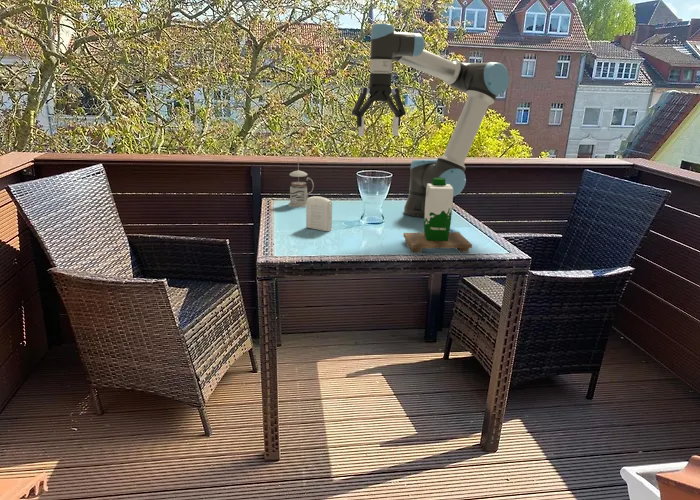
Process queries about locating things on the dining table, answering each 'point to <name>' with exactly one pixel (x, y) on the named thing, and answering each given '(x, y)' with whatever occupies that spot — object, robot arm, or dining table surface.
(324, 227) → the photo printer
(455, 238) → the stand
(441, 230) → the soya milk
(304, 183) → the french press
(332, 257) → the dining table surface
